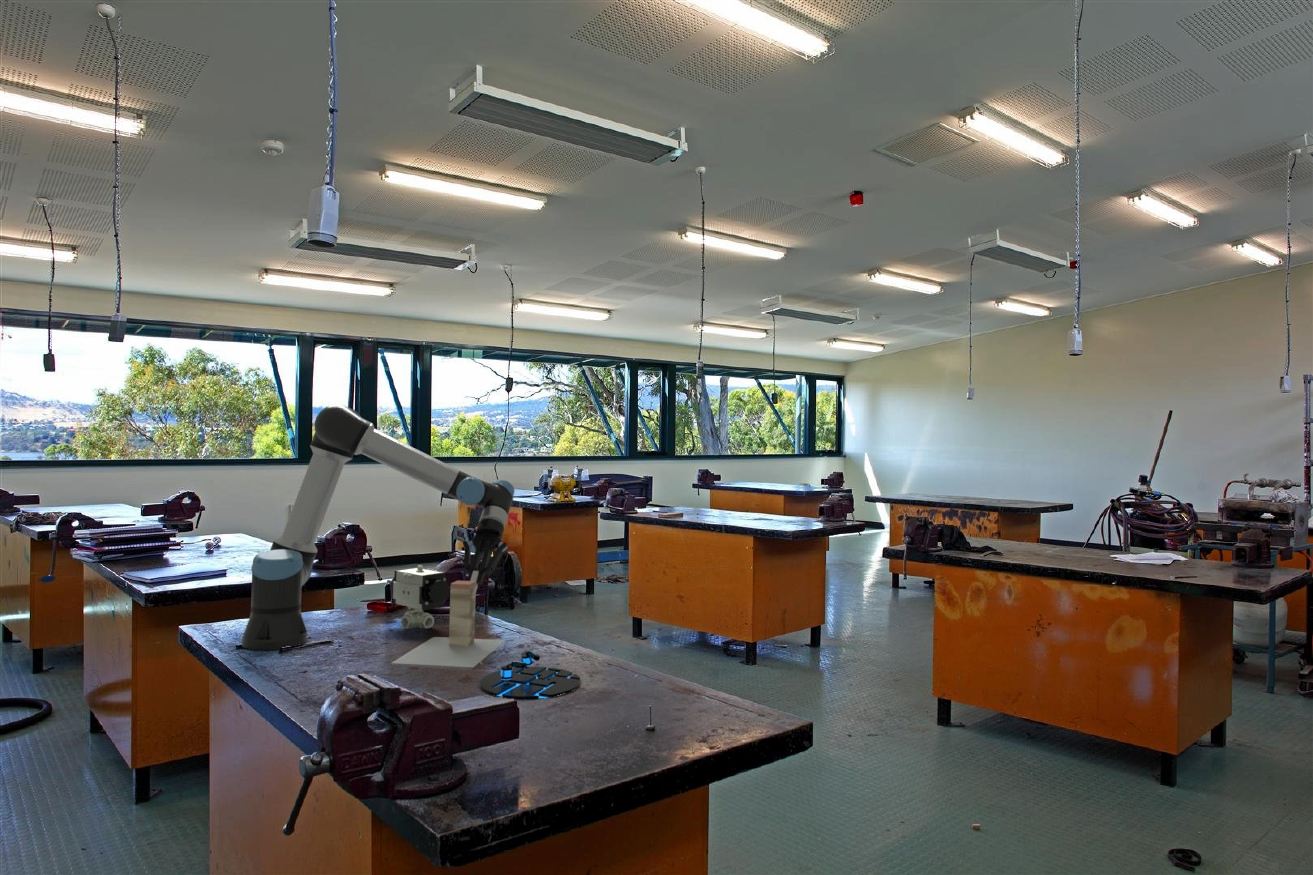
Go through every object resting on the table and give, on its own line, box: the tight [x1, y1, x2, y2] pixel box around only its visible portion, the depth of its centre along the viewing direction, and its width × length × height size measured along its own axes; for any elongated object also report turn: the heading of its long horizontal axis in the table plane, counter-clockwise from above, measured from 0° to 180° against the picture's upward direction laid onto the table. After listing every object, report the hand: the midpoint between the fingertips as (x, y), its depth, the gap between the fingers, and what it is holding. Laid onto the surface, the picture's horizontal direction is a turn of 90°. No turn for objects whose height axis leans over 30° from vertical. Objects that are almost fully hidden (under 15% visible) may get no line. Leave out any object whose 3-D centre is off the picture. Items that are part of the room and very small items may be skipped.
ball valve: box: [390, 564, 450, 630], centre depth 217 cm, size 18×8×18 cm, turn 55°
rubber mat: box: [390, 636, 506, 671], centre depth 191 cm, size 26×20×1 cm
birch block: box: [448, 580, 477, 647], centre depth 198 cm, size 5×5×16 cm
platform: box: [478, 649, 582, 701], centre depth 168 cm, size 22×22×6 cm
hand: (470, 593), depth 204 cm, fingers closed
